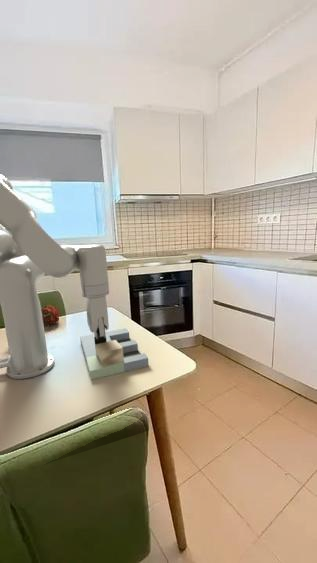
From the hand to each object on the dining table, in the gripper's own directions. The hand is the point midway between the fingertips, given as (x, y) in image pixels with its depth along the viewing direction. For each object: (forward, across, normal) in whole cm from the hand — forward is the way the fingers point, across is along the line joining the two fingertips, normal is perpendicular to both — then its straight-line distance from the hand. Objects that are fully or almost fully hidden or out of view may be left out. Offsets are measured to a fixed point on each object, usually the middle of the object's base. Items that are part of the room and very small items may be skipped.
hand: (101, 349), depth 81 cm
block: (+1, +5, +1) cm, 6 cm away
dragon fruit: (+4, -41, -15) cm, 44 cm away
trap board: (+4, -3, +3) cm, 6 cm away
